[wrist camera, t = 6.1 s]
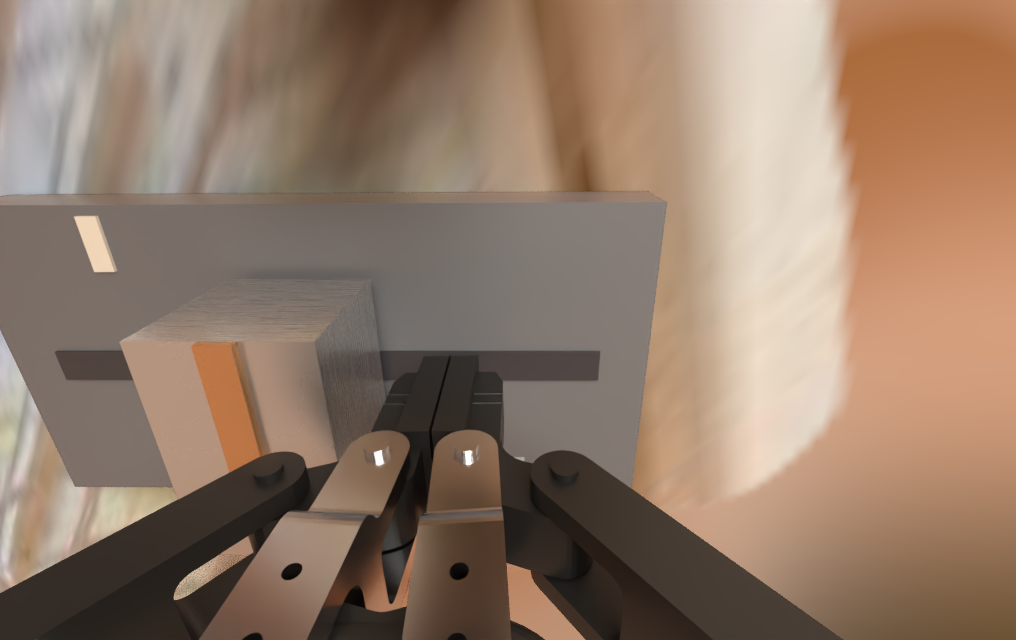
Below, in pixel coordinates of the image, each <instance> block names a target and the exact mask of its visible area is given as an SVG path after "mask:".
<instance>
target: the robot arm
mask: <svg viewBox="0 0 1016 640" xmlns="http://www.w3.org/2000/svg"><path fill="white" fill-rule="evenodd" d="M503 445H504V404H503V381H502V379H501V378H500V377H499V375H498V374H497V373H496V372H479V360H478V355H452V356H451V355H425V356H424V357H423V360H422V362H421V365H420V367H419V370H418V373H404V374H403V375H402V376H401V377H400V378H398V379H397V380H396V381H395V382H394V383H393V385H392V387H391V389H390V391H389V394H388V396H387V398H386V400H385V402H384V405H383V407H382V409H381V411H380V413H379V416H378V418H377V420H376V422H375V424H374V426H373V429H372V431H371V433H368V434H366V435H363V436H361V437H359V438H358V439H356V440H355V441H353V442H352V443H351V444H350V445H349V447H348V448H347V449H346V451H345V453H344V454H343V456H342V457H341V459H340V461H337V462H333V463H329V464H325V465H321V466H316V467H312V468H307V467H306V463H305V460H304V458H303V457H302V456H301V455H299V454H297V453H294V452H285V451H283V452H275V453H270V454H266V455H264V456H261V457H258V458H256V459H254V460H252V461H250V462H248V463H247V464H245V465H243V466H241V467H239V468H237V469H235V470H233V471H231V472H229V473H228V474H226V475H224V476H222V477H220V478H218V479H216V480H214V481H212V482H211V483H209V484H207V485H205V486H203V487H201V488H199V489H197V490H195V491H193V492H192V493H190V494H188V495H186V496H184V497H182V498H180V499H178V500H176V501H174V502H173V503H171V504H169V505H167V506H165V507H163V508H161V509H159V510H157V511H155V512H154V513H152V514H150V515H148V516H146V517H144V518H142V519H140V520H138V521H136V522H135V523H133V524H131V525H129V526H127V527H125V528H123V529H121V530H119V531H118V532H116V533H114V534H112V535H110V536H108V537H106V538H104V539H102V540H100V541H99V542H97V543H95V544H93V545H91V546H89V547H87V548H85V549H83V550H81V551H80V552H78V553H76V554H74V555H72V556H70V557H68V558H66V559H64V560H62V561H61V562H59V563H57V564H55V565H53V566H51V567H49V568H47V569H45V570H43V571H42V572H40V573H38V574H36V575H34V576H32V577H30V578H28V579H26V580H25V581H23V582H21V583H19V584H17V585H15V586H13V587H11V588H9V589H7V590H6V591H4V592H2V593H0V640H545V639H543V638H542V637H540V636H539V635H538V634H537V633H535V632H533V631H531V630H530V629H528V628H526V627H525V626H523V625H520V624H518V623H516V622H513V621H511V620H510V611H509V596H508V581H507V566H506V563H509V564H512V565H516V566H519V567H522V568H525V569H528V570H531V575H532V578H533V580H534V582H535V584H536V585H537V586H538V587H539V589H540V590H541V591H542V592H543V593H544V594H545V595H546V596H547V597H548V599H549V600H550V601H551V602H552V603H553V604H554V605H555V606H556V607H557V608H558V610H559V611H560V612H561V613H562V614H563V615H564V616H565V617H566V618H567V619H568V621H569V622H570V623H571V624H572V625H573V626H574V627H575V628H576V629H577V631H578V632H579V633H580V634H581V635H582V636H583V637H584V638H585V639H586V640H843V639H841V638H840V637H839V636H837V635H836V634H834V633H833V632H832V631H830V630H829V629H827V628H826V627H825V626H823V625H822V624H820V623H819V622H818V621H816V620H815V619H813V618H812V617H811V616H809V615H808V614H806V613H805V612H804V611H802V610H801V609H799V608H798V607H797V606H795V605H794V604H792V603H791V602H790V601H788V600H787V599H785V598H784V597H783V596H781V595H780V594H778V593H777V592H776V591H774V590H773V589H771V588H770V587H768V586H767V585H766V584H764V583H763V582H762V581H760V580H759V579H757V578H756V577H754V576H753V575H752V574H750V573H749V572H747V571H746V570H745V569H743V568H742V567H740V566H739V565H738V564H736V563H735V562H733V561H732V560H730V559H729V558H728V557H726V556H725V555H723V554H722V553H721V552H719V551H718V550H717V549H715V548H714V547H712V546H711V545H710V544H708V543H707V542H705V541H704V540H703V539H701V538H700V537H698V536H697V535H696V534H694V533H693V532H691V531H690V530H689V529H687V528H686V527H684V526H683V525H682V524H680V523H679V522H677V521H676V520H675V519H673V518H672V517H670V516H669V515H668V514H666V513H665V512H663V511H662V510H661V509H659V508H658V507H656V506H655V505H653V504H652V503H651V502H649V501H648V500H646V499H645V498H644V497H642V496H641V495H639V494H638V493H637V492H635V491H634V490H632V489H631V488H630V487H628V486H627V485H625V484H624V483H623V482H621V481H620V480H618V479H617V478H616V477H614V476H613V475H611V474H610V473H609V472H607V471H606V470H604V469H603V468H602V467H600V466H599V465H597V464H596V463H595V462H593V461H592V460H590V459H589V458H587V457H586V456H584V455H582V454H580V453H576V452H573V451H566V450H557V451H551V452H548V453H545V454H543V455H541V456H540V457H538V458H537V459H536V460H535V461H534V463H529V462H525V461H522V460H519V459H516V458H514V457H513V456H511V455H510V454H508V453H507V452H506V451H505V450H504V448H503ZM424 513H426V514H424ZM246 537H249V540H250V543H251V547H252V550H253V553H252V554H250V555H249V556H247V557H245V558H244V559H242V560H241V561H239V562H238V563H236V564H235V565H233V566H232V567H230V568H229V569H227V570H226V571H224V572H223V573H221V574H220V575H218V576H217V577H215V578H214V579H212V580H211V581H209V582H208V583H206V584H205V585H203V586H202V587H200V588H199V589H197V590H196V591H194V592H193V593H191V594H190V595H188V596H186V597H184V598H182V599H179V600H174V592H175V590H176V588H177V586H178V584H179V583H180V582H181V581H182V580H183V579H184V578H185V577H186V576H187V575H188V574H190V573H191V572H192V571H194V570H196V569H197V568H199V567H200V566H202V565H203V564H205V563H207V562H208V561H210V560H211V559H213V558H214V557H216V556H218V555H219V554H221V553H222V552H224V551H225V550H227V549H229V548H230V547H232V546H233V545H235V544H236V543H238V542H240V541H241V540H243V539H244V538H246ZM410 576H411V580H410ZM409 580H410V587H409V594H408V601H407V607H403V608H401V605H402V602H403V599H404V596H405V593H406V589H407V586H408V583H409Z"/></svg>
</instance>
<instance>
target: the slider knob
mask: <svg viewBox="0 0 1016 640" xmlns="http://www.w3.org/2000/svg"><path fill="white" fill-rule="evenodd" d="M120 345H121V348H122V350H123V353H124V356H125V359H126V361H127V364H128V367H129V369H130V372H131V375H132V377H133V380H134V383H135V386H136V388H137V391H138V394H139V396H140V399H141V402H142V404H143V407H144V410H145V413H146V415H147V418H148V421H149V423H150V426H151V429H152V431H153V434H154V437H155V439H156V442H157V445H158V448H159V450H160V453H161V456H162V458H163V461H164V464H165V466H166V469H167V472H168V475H169V477H170V480H171V483H172V485H173V488H174V491H175V493H176V496H177V499H180V498H182V497H184V496H186V495H188V494H190V493H192V492H193V491H195V490H197V489H199V488H201V487H203V486H205V485H207V484H209V483H211V482H212V481H214V480H216V479H218V478H220V477H222V476H224V475H226V474H228V473H229V472H231V471H233V470H235V469H237V468H239V467H241V466H243V465H245V464H247V463H248V462H250V461H252V460H254V459H256V458H258V457H261V456H264V455H266V454H270V453H275V452H283V451H285V452H294V453H297V454H299V455H301V456H302V457H303V458H304V460H305V463H306V467H307V468H312V467H316V466H321V465H325V464H329V463H333V462H337V461H340V459H341V457H342V456H343V454H344V453H345V451H346V449H347V448H348V447H349V445H350V444H351V443H352V442H353V441H355V440H356V439H358V438H359V437H361V436H363V435H366V434H368V433H371V431H372V429H373V426H374V424H375V422H376V420H377V418H378V416H379V413H380V411H381V409H382V407H383V405H384V402H385V400H386V397H385V389H384V382H383V374H382V366H381V358H380V351H379V343H378V335H377V327H376V320H375V312H374V304H373V296H372V289H371V281H370V279H229V280H227V281H225V282H223V283H222V284H220V285H218V286H216V287H215V288H213V289H211V290H209V291H208V292H206V293H204V294H202V295H201V296H199V297H197V298H195V299H194V300H192V301H190V302H188V303H187V304H185V305H183V306H181V307H180V308H178V309H176V310H174V311H173V312H171V313H169V314H167V315H165V316H164V317H162V318H160V319H158V320H157V321H155V322H153V323H151V324H150V325H148V326H146V327H144V328H143V329H141V330H139V331H137V332H136V333H134V334H132V335H130V336H129V337H127V338H125V339H123V340H122V341H120ZM252 553H253V550H252V547H251V543H250V540H249V537H246V538H244V539H243V540H241V541H240V542H238V543H236V544H235V545H233V546H232V547H230V548H229V549H227V550H225V551H224V552H222V553H221V554H219V555H250V554H252Z"/></svg>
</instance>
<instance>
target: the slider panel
mask: <svg viewBox="0 0 1016 640" xmlns="http://www.w3.org/2000/svg"><path fill="white" fill-rule="evenodd" d="M666 207H667V202H666V201H664V200H663V199H661V198H659V197H657V196H655V195H654V194H652V193H650V192H648V191H604V192H416V193H228V194H39V195H6V196H0V330H1V332H2V334H3V336H4V339H5V341H6V343H7V345H8V347H9V349H10V351H11V353H12V355H13V357H14V360H15V362H16V364H17V366H18V368H19V370H20V372H21V374H22V376H23V378H24V381H25V383H26V385H27V387H28V389H29V391H30V393H31V395H32V397H33V399H34V402H35V404H36V406H37V408H38V410H39V412H40V414H41V416H42V418H43V420H44V423H45V425H46V427H47V429H48V431H49V433H50V435H51V437H52V439H53V441H54V444H55V446H56V448H57V450H58V452H59V454H60V456H61V458H62V460H63V462H64V465H65V467H66V469H67V471H68V473H69V475H70V477H71V479H72V481H73V483H74V486H75V487H173V485H172V483H171V480H170V477H169V475H168V472H167V469H166V466H165V464H164V461H163V458H162V456H161V453H160V450H159V448H158V445H157V442H156V439H155V437H154V434H153V431H152V429H151V426H150V423H149V421H148V418H147V415H146V413H145V410H144V407H143V404H142V402H141V399H140V396H139V394H138V391H137V388H136V386H135V383H134V380H133V377H132V375H131V372H130V369H129V367H128V364H127V361H126V359H125V356H124V353H123V350H122V348H121V345H120V341H122V340H123V339H125V338H127V337H129V336H130V335H132V334H134V333H136V332H137V331H139V330H141V329H143V328H144V327H146V326H148V325H150V324H151V323H153V322H155V321H157V320H158V319H160V318H162V317H164V316H165V315H167V314H169V313H171V312H173V311H174V310H176V309H178V308H180V307H181V306H183V305H185V304H187V303H188V302H190V301H192V300H194V299H195V298H197V297H199V296H201V295H202V294H204V293H206V292H208V291H209V290H211V289H213V288H215V287H216V286H218V285H220V284H222V283H223V282H225V281H227V280H229V279H370V281H371V289H372V296H373V304H374V312H375V320H376V327H377V335H378V343H379V351H380V358H381V366H382V374H383V382H384V389H385V397H386V398H387V396H388V394H389V391H390V389H391V387H392V385H393V383H394V382H395V381H396V380H397V379H398V378H400V377H401V376H402V375H403V374H404V373H418V370H419V367H420V365H421V362H422V360H423V357H424V356H425V355H451V356H452V355H478V360H479V372H496V373H497V374H498V375H499V377H500V378H501V379H502V381H503V404H504V445H503V448H504V450H505V451H506V452H507V453H508V454H510V455H511V456H513V457H514V458H516V459H519V460H522V461H525V462H529V463H534V461H535V460H536V459H537V458H538V457H540V456H541V455H543V454H545V453H548V452H551V451H557V450H566V451H573V452H576V453H580V454H582V455H584V456H586V457H587V458H589V459H590V460H592V461H593V462H595V463H596V464H597V465H599V466H600V467H602V468H603V469H604V470H606V471H607V472H609V473H610V474H611V475H613V476H614V477H616V478H617V479H618V480H620V481H621V482H623V483H624V484H625V485H627V486H628V487H630V488H632V480H633V472H634V464H635V456H636V448H637V440H638V432H639V424H640V416H641V408H642V400H643V392H644V384H645V376H646V368H647V360H648V352H649V344H650V336H651V327H652V319H653V311H654V303H655V295H656V287H657V279H658V271H659V263H660V255H661V247H662V239H663V231H664V223H665V215H666Z"/></svg>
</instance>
